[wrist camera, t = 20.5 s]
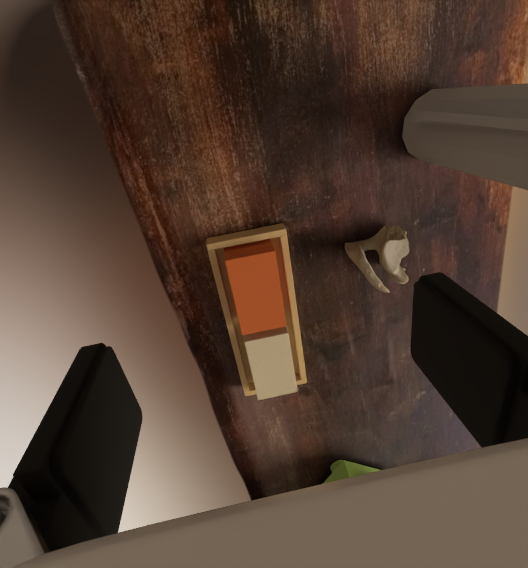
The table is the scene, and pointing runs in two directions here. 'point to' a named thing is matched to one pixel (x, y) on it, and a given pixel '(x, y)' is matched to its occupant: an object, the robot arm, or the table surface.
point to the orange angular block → (255, 286)
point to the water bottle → (473, 131)
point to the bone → (382, 255)
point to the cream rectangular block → (271, 362)
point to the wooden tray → (226, 297)
